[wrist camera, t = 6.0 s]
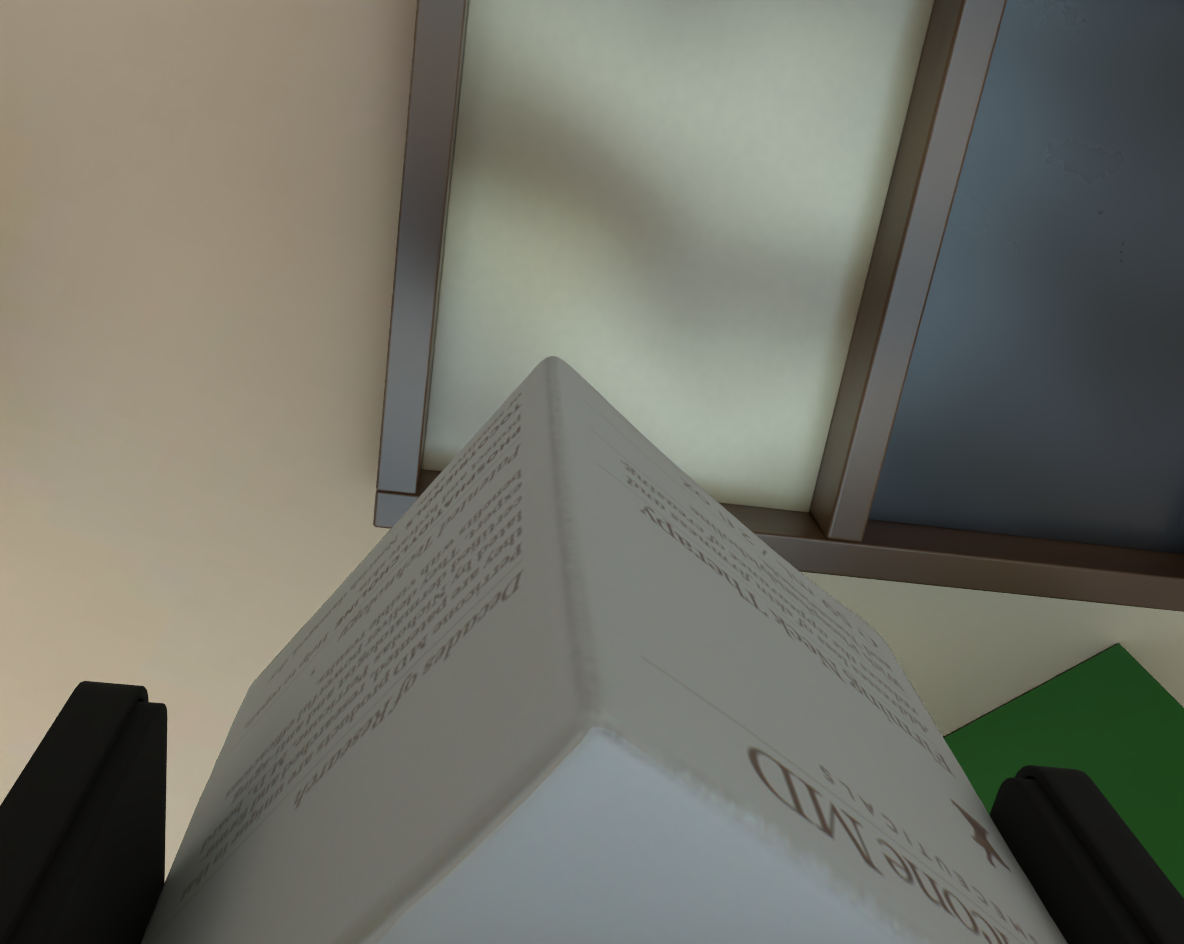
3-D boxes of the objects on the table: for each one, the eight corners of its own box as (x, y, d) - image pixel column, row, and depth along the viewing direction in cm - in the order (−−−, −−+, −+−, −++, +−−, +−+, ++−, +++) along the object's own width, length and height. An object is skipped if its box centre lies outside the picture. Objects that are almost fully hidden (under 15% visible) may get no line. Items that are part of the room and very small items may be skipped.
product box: (893, 633, 14) (1235, 1176, 8) (583, 910, 16) (640, 1571, 9) (548, 335, 12) (599, 708, 6) (230, 680, 14) (-27, 1303, 7)
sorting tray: (442, -189, 23) (435, -212, 21) (1432, -4, 26) (1520, -7, 24) (383, 488, 29) (372, 527, 27) (1199, 577, 32) (1253, 619, 30)
